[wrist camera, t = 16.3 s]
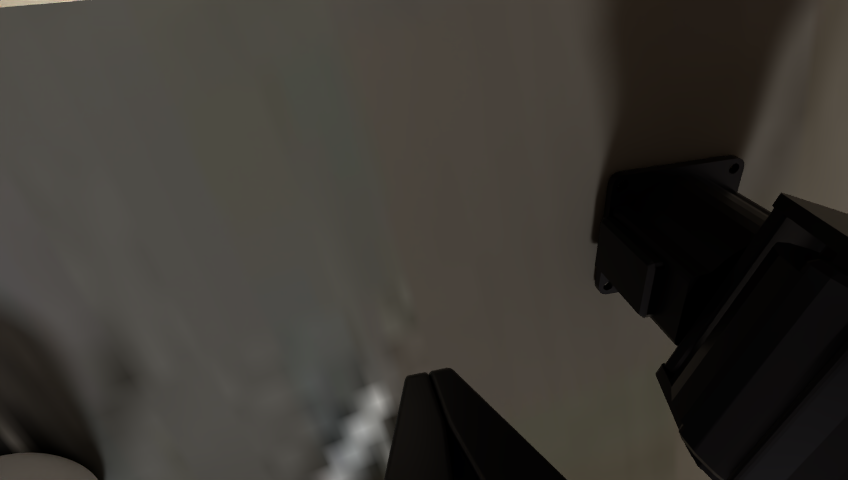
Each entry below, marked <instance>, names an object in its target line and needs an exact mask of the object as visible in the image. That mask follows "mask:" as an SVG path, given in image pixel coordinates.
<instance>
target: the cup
mask: <svg viewBox="0 0 848 480" xmlns="http://www.w3.org/2000/svg"><path fill="white" fill-rule="evenodd" d="M0 480H98V479H97V478H96V477H95V475H94V474H93V473H92V472H91V471H89V470H88V469H87V468H85V467H84V466H82V465H80V464H78V463H76V462H74V461H72V460H69V459H66V458H63V457H60V456H56V455H51V454H45V453H15V454H8V455H2V456H0Z"/></svg>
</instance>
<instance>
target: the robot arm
mask: <svg viewBox="0 0 848 480" xmlns="http://www.w3.org/2000/svg"><path fill="white" fill-rule="evenodd" d="M732 165H733V166H732ZM731 166H732V168H730V167H731ZM743 169H744V162H743V160H742V159H740V158H738V157H736V156H734V155H729V156H722V157H715V158H708V159H702V160H695V161H688V162H681V163H675V164H668V165H661V166H654V167H648V168H641V169H634V170H627V171H620V172H617V173H615V174H614V175H612V177H611V178H610V179H609V182H608V188H607V196H606V203H605V211H604V218H603V220H602V222H601V225H600V232H599V240H598V248H597V256H596V263H595V265H596V267H597V272H596V279H595V286H596V288H597V289H598V290H599V291H600V293H602V294H610V293H616V292H619V293H620V294H621V295H622V296H623V297H624V299H625V300H626V301H627V302H628V303H629V304H630V305H631V306H632V308H633V309H634V310H635V311H636V312H637V313H638V314H639V315H640V316H642V317H643V318H645V317H651V318H652V320H653V321H654V322H655V323H656V324H657V325H658V326H659V327H660V328H661V329H662V331H663V332H664V333H665V334H666V335H667V336H668V337H669V338H670V339H671V340H672V342H673V343H674V344H675V345H677V348H676V349H675V351H674V352H673V354H672V355H671V356H670V358H669V359H668V361H667V362H666V364H665V363H663V364H662V365H661V367H660V368H659V369H658V371H657V372H656V377H657V379H658V381H659V384H660V386H661V388H662V391H663V393H664V396H665V398H666V400H667V403H668V405H669V407H670V410H671V412H672V414H673V417H674V419H675V421H676V424H677V426H678V428H679V433H680V436H681V438H682V440H683V441H684V443H685V445H686V447H687V449H688V451H689V452H690V454H691V456H692V457H693V459H694V460H695V462H696V464H697V466H698V467H699V468H700V469H702V470H703V471H704V472H705V473H706V474H707V475H708V476H709V477H710V478H711V479H712V480H848V214H846V213H843V212H840V211H837V210H834V209H831V208H828V207H825V206H822V205H819V204H816V203H812V202H809V201H806V200H803V199H800V198H797V197H794V196H791V195H788V194H785V193H781V194H780V195H779V196H778V198H777V199H776V201H775V202H774V204H773V205H772V206H773V207H774V209H773V210H772V212H770V211H768V210H766V209H765V208H763V207H761V206H760V205H758V204H756V203H755V202H753V201H751V200H750V199H748V198H746V197H745V196H743V195H741V194H740V193H738V192H737V191H738V187H739V183H740V180H741V176H742V172H743ZM623 180H624V182H623V184H622V185H621V186H619V187H618V184H619V183H620V182H621V181H623ZM607 282H608V283H607ZM606 283H607V284H606ZM604 284H606V285H604ZM384 480H567V479H566V478H565V477H564V476H563V475H561V474H560V473H559V472H558V471H557V470H556V469H555V468H554V467H553V466H552V465H551V464H550V463H549V462H548V461H547V460H546V459H545V458H544V457H543V456H542V455H541V454H540V453H539V452H538V451H537V450H536V449H535V448H534V447H532V446H531V445H530V444H529V443H528V442H527V441H526V440H525V439H524V438H523V437H522V436H521V435H520V434H519V433H518V432H517V431H516V430H515V429H514V428H513V427H512V426H511V425H510V424H509V423H508V422H507V421H506V420H505V419H504V418H502V417H501V416H500V415H499V414H498V413H497V412H496V411H495V410H494V409H493V408H492V407H491V406H490V405H489V404H488V403H487V402H486V401H485V400H484V399H483V398H482V397H481V396H480V395H479V394H478V393H477V392H476V391H475V390H473V389H472V388H471V387H470V386H469V385H468V384H467V383H466V382H465V381H464V380H463V379H462V378H461V377H460V376H459V375H458V374H457V373H456V372H455V371H454V370H453V369H451V368H444V369H439V370H434V371H431V372H430V373H429V375H428V374H427V373H426V372H424V373H419V374H414V375H409V376H407V377H406V379H405V382H404V387H403V392H402V397H401V401H400V406H399V411H398V416H397V421H396V425H395V430H394V435H393V440H392V445H391V449H390V454H389V459H388V464H387V469H386V474H385V478H384Z"/></svg>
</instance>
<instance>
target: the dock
mask: <svg viewBox="0 0 848 480" xmlns="http://www.w3.org/2000/svg"><path fill="white" fill-rule="evenodd" d="M69 1H80V0H0V7H10V6H21V5H33V4H45V3H57V2H69Z"/></svg>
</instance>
